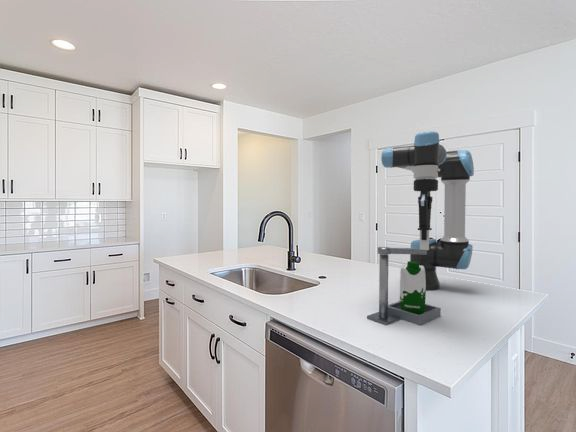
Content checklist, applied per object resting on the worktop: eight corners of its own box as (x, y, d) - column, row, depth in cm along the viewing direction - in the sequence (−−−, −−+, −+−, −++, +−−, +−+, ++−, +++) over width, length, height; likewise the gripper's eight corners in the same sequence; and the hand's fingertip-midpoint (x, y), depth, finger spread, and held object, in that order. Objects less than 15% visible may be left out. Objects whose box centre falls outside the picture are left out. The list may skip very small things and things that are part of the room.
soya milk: (399, 317, 115) (400, 262, 114) (399, 309, 124) (400, 258, 123) (426, 320, 112) (427, 264, 111) (424, 312, 121) (425, 259, 120)
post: (367, 318, 114) (367, 254, 113) (380, 313, 119) (381, 252, 118) (386, 325, 108) (387, 257, 107) (399, 319, 113) (400, 255, 112)
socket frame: (384, 313, 119) (384, 305, 119) (405, 306, 128) (405, 298, 128) (419, 325, 108) (420, 316, 108) (440, 316, 117) (440, 307, 117)
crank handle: (378, 254, 111) (378, 237, 111) (376, 252, 115) (376, 236, 115) (429, 255, 108) (430, 238, 108) (426, 253, 113) (426, 236, 113)
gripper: (435, 177, 100) (433, 252, 100) (440, 180, 111) (438, 248, 111) (410, 178, 104) (408, 250, 104) (417, 181, 115) (415, 246, 115)
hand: (424, 249), depth 108 cm, fingers closed
